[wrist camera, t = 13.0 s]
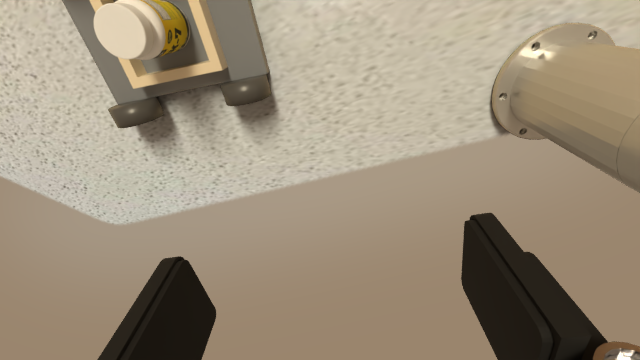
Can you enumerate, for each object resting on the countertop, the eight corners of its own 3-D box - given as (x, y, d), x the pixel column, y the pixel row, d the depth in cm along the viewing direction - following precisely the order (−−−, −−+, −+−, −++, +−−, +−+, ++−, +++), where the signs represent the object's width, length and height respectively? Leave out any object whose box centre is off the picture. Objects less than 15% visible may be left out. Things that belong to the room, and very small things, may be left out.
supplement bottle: (176, 61, 32) (132, 77, 25) (135, 26, 31) (76, 33, 23) (200, 25, 31) (161, 32, 23) (159, -13, 29) (103, -19, 22)
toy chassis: (223, -103, 27) (203, -123, 22) (274, 88, 35) (267, 100, 31) (45, -53, 29) (-5, -64, 24) (133, 116, 37) (108, 131, 33)
